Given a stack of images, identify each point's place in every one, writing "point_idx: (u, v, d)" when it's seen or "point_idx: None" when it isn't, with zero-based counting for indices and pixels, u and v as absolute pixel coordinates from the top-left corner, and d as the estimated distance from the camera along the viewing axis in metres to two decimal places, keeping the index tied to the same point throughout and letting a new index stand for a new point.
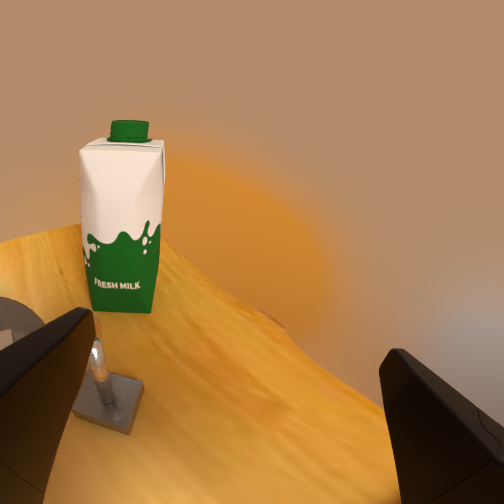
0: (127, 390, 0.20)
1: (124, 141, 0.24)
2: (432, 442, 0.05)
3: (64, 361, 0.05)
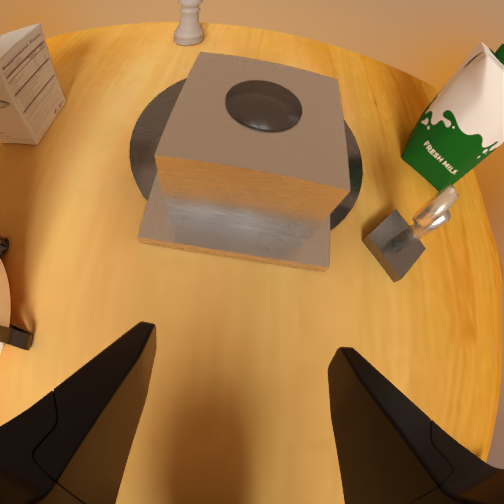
0: (413, 247, 0.24)
1: None
2: (375, 456, 0.05)
3: (136, 382, 0.06)
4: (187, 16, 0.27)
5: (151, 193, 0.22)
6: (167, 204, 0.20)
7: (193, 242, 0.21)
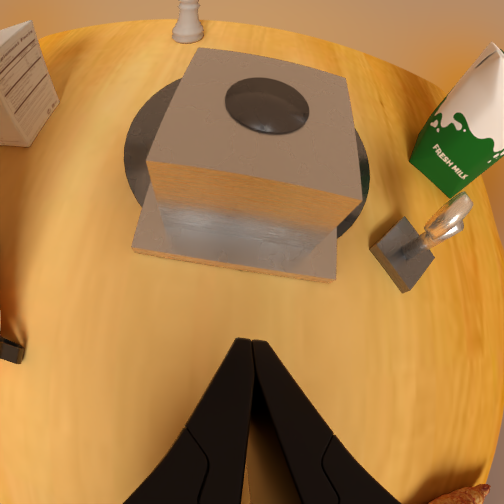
0: (422, 257, 0.23)
1: None
2: (265, 465, 0.04)
3: None
4: (186, 12, 0.26)
5: (146, 199, 0.20)
6: (162, 212, 0.18)
7: (190, 253, 0.20)
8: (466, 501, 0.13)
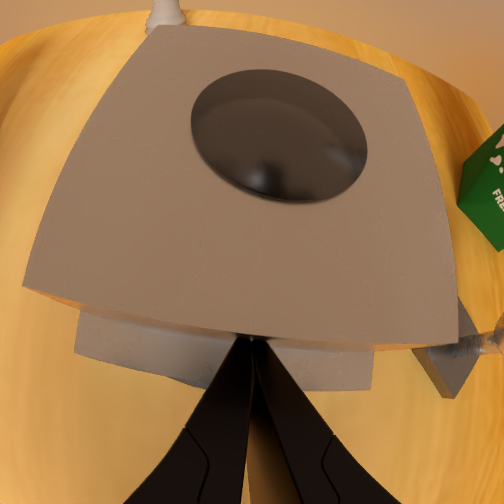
0: None
1: None
2: (266, 465, 0.04)
3: None
4: None
5: None
6: (104, 318, 0.10)
7: (157, 368, 0.12)
8: None
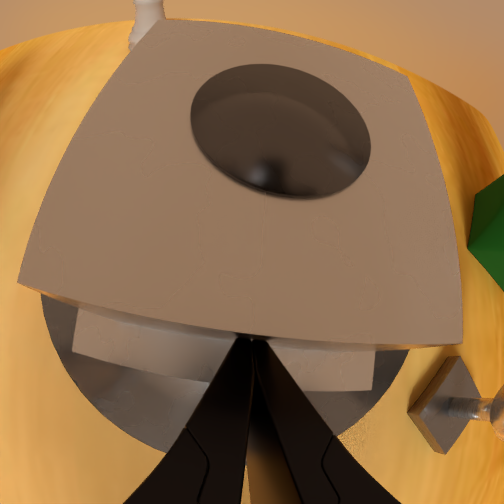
0: None
1: None
2: (265, 465, 0.04)
3: None
4: (144, 9, 0.16)
5: None
6: (102, 316, 0.10)
7: (156, 367, 0.12)
8: None
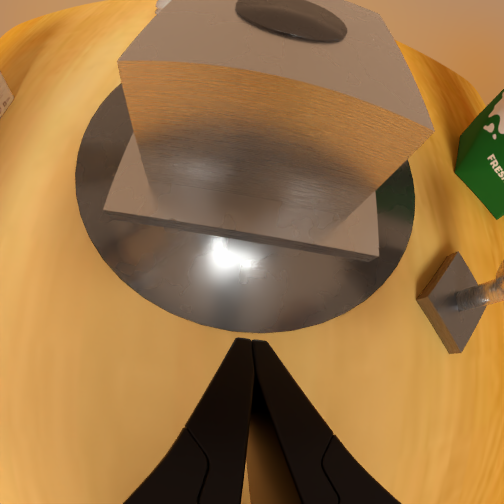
0: None
1: None
2: (265, 465, 0.04)
3: None
4: None
5: (127, 150, 0.15)
6: (144, 158, 0.12)
7: (183, 216, 0.14)
8: None
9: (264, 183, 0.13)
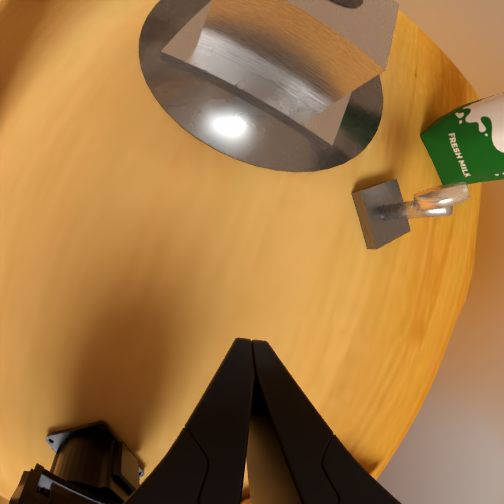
0: (399, 224, 0.23)
1: None
2: (266, 465, 0.04)
3: None
4: None
5: (188, 23, 0.17)
6: (204, 28, 0.15)
7: (213, 71, 0.18)
8: None
9: (272, 69, 0.17)
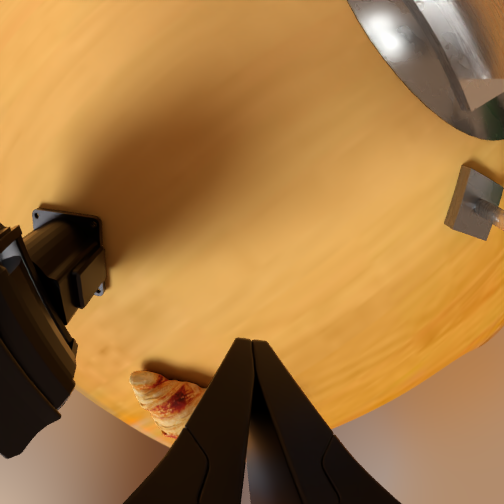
0: (482, 226, 0.18)
1: None
2: (265, 465, 0.04)
3: None
4: None
5: None
6: None
7: None
8: None
9: (456, 13, 0.09)
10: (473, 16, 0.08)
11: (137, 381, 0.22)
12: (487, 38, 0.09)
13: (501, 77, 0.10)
